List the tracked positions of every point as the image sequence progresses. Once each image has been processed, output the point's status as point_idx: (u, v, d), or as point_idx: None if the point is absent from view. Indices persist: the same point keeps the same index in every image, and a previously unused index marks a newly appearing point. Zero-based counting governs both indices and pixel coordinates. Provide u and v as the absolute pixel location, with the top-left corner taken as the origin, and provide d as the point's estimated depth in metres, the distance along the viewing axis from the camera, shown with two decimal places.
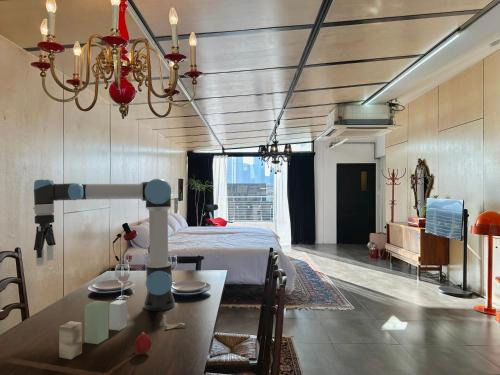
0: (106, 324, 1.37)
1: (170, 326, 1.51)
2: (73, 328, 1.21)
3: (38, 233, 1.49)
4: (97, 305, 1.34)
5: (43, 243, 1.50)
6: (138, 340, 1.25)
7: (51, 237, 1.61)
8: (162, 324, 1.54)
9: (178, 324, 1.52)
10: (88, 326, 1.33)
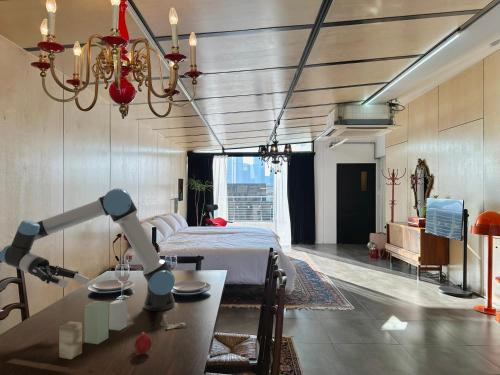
0: (106, 324, 1.37)
1: (171, 326, 1.51)
2: (73, 328, 1.21)
3: (36, 273, 1.39)
4: (97, 305, 1.34)
5: (49, 273, 1.39)
6: (138, 340, 1.25)
7: (65, 270, 1.50)
8: (163, 324, 1.54)
9: (179, 324, 1.52)
10: (88, 326, 1.33)
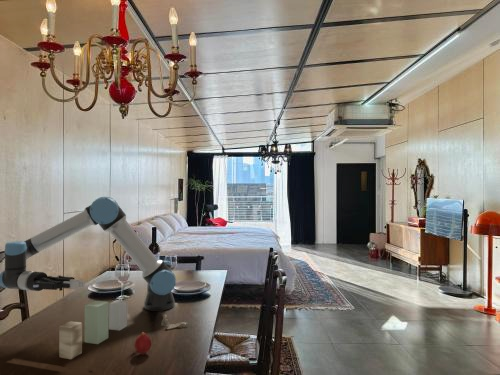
0: (106, 324, 1.37)
1: (172, 325, 1.51)
2: (73, 328, 1.21)
3: (40, 286, 1.37)
4: (97, 305, 1.34)
5: (56, 281, 1.39)
6: (138, 340, 1.25)
7: (61, 278, 1.43)
8: (164, 324, 1.54)
9: (180, 323, 1.52)
10: (88, 326, 1.33)
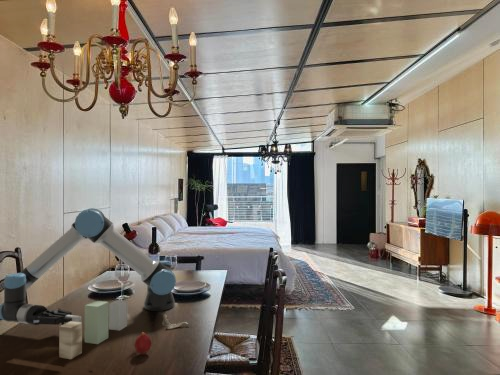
0: (106, 324, 1.37)
1: (174, 325, 1.52)
2: (73, 328, 1.21)
3: (41, 321, 1.37)
4: (97, 305, 1.34)
5: (57, 315, 1.39)
6: (138, 340, 1.25)
7: (59, 313, 1.42)
8: (165, 323, 1.54)
9: (182, 323, 1.53)
10: (88, 326, 1.33)
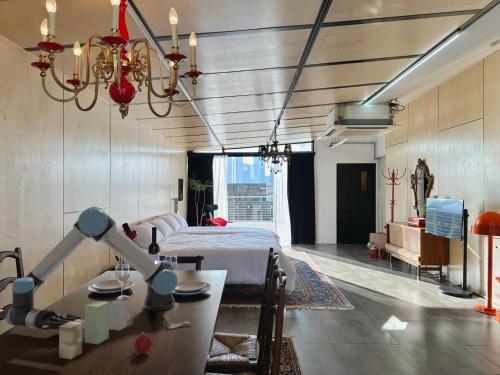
0: (107, 324, 1.37)
1: (175, 325, 1.52)
2: (73, 328, 1.21)
3: (50, 326, 1.36)
4: (97, 305, 1.34)
5: (66, 320, 1.38)
6: (138, 340, 1.25)
7: (68, 317, 1.41)
8: (166, 323, 1.54)
9: (183, 323, 1.53)
10: (89, 326, 1.33)
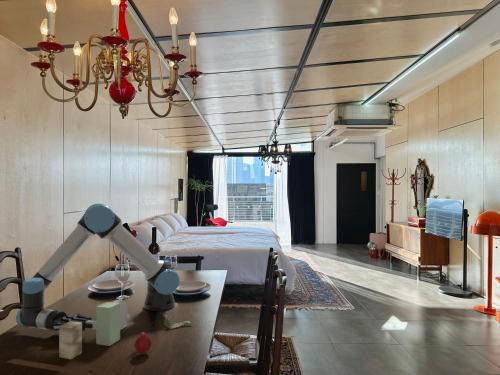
0: (118, 325, 1.36)
1: (176, 325, 1.53)
2: (73, 328, 1.21)
3: None
4: (109, 306, 1.32)
5: (78, 321, 1.37)
6: (138, 340, 1.25)
7: (79, 318, 1.40)
8: (167, 323, 1.55)
9: (184, 322, 1.54)
10: (100, 327, 1.32)
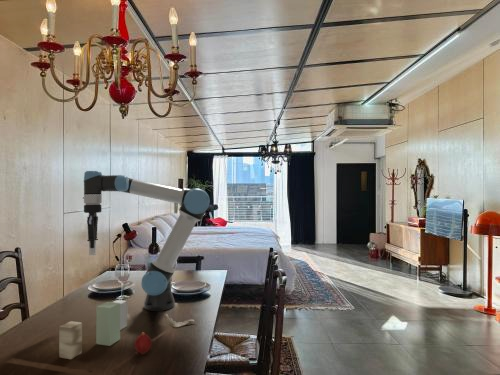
0: (118, 325, 1.36)
1: (181, 323, 1.54)
2: (73, 328, 1.21)
3: (89, 226, 1.59)
4: (109, 306, 1.32)
5: (94, 234, 1.63)
6: (138, 340, 1.25)
7: (95, 229, 1.66)
8: (171, 322, 1.56)
9: (188, 321, 1.56)
10: (100, 327, 1.32)
